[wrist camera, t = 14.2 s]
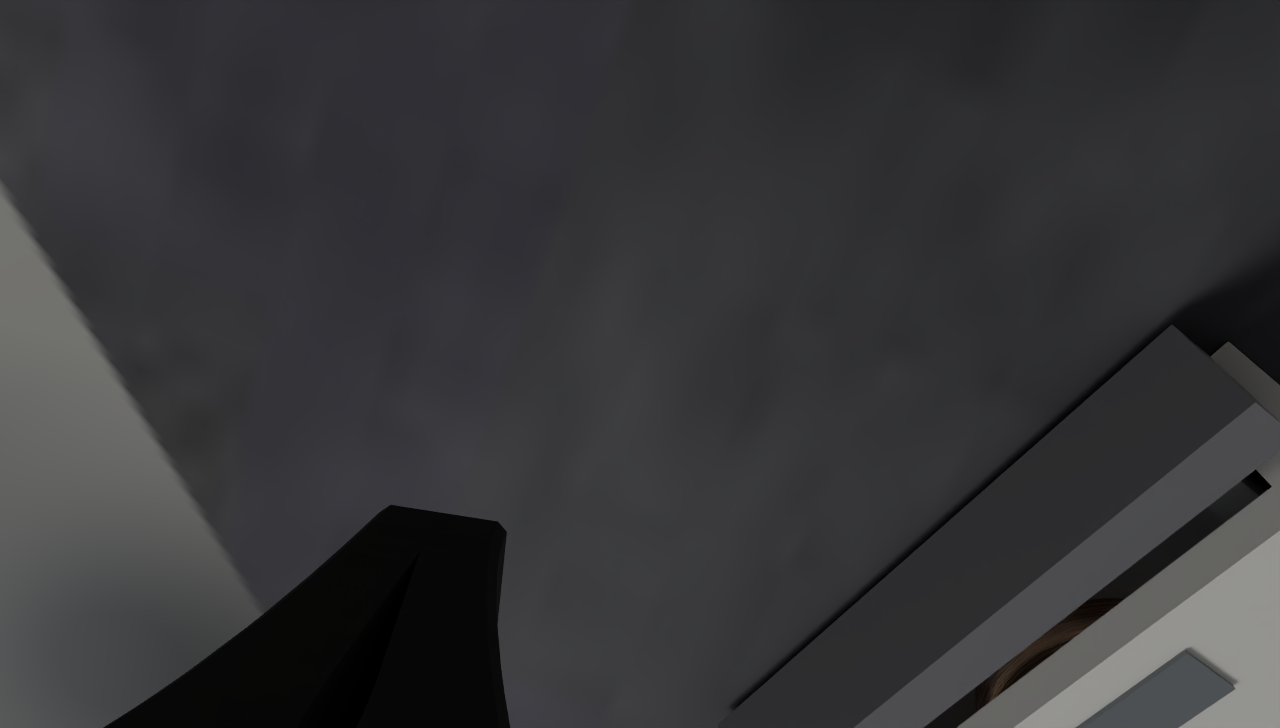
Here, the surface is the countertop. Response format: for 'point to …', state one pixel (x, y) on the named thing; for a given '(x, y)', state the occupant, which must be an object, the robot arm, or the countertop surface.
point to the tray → (1036, 548)
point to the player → (1176, 630)
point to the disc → (1042, 649)
